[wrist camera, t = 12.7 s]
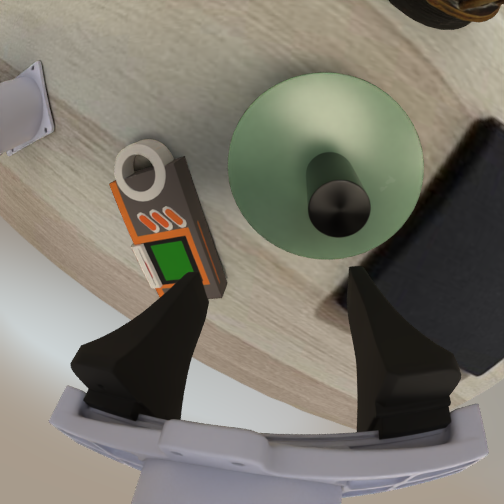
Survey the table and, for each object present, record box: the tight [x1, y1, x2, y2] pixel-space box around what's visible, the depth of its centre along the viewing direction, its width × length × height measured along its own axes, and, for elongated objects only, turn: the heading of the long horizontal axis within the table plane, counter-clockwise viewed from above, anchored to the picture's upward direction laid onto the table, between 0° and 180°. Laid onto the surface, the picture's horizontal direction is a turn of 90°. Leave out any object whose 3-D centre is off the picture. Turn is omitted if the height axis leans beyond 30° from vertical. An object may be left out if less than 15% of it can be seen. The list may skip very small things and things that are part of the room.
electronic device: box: [109, 139, 227, 299], centre depth 24 cm, size 7×3×15 cm
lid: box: [228, 72, 424, 259], centre depth 12 cm, size 10×10×5 cm
